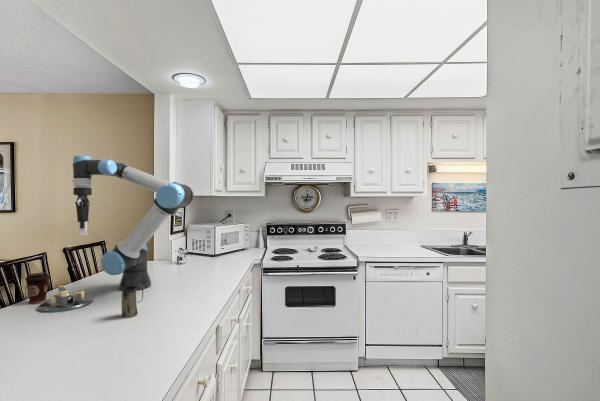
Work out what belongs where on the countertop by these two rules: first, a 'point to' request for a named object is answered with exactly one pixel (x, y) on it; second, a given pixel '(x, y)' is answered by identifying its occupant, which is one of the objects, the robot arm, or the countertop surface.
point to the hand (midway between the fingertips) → (83, 234)
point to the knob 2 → (58, 300)
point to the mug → (129, 301)
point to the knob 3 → (79, 296)
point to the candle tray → (69, 306)
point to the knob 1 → (62, 290)
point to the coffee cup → (37, 287)
